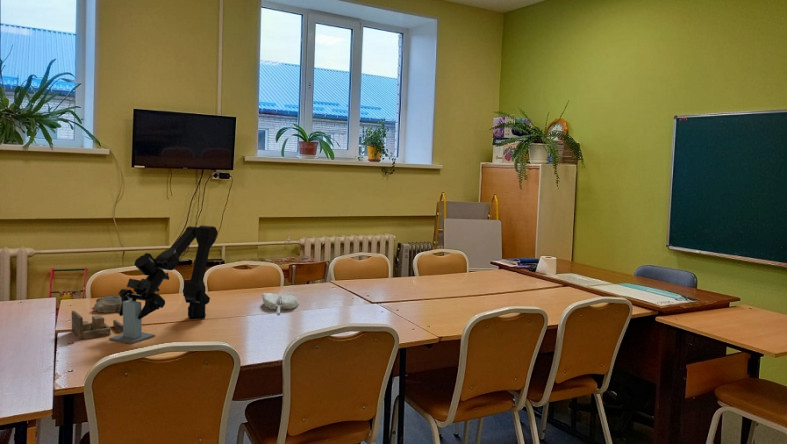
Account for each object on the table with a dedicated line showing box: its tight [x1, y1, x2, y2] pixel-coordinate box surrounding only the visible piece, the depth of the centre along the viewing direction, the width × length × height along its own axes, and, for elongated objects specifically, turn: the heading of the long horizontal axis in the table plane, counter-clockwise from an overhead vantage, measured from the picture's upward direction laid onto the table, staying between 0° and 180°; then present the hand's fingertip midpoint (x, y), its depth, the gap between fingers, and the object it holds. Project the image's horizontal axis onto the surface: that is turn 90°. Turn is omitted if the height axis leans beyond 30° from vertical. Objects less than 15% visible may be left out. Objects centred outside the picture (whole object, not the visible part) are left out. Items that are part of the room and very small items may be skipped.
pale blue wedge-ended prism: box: [122, 300, 143, 338], centre depth 214 cm, size 3×6×13 cm, turn 67°
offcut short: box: [83, 320, 91, 332], centre depth 217 cm, size 3×5×4 cm, turn 42°
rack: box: [71, 310, 123, 340], centre depth 220 cm, size 15×12×8 cm
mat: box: [108, 331, 156, 345], centre depth 215 cm, size 11×11×1 cm
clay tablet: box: [94, 294, 122, 314], centre depth 257 cm, size 14×5×20 cm
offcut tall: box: [91, 314, 105, 330], centre depth 220 cm, size 3×5×6 cm, turn 41°
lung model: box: [261, 292, 300, 315], centre depth 267 cm, size 7×17×25 cm
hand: (129, 317), depth 213 cm, fingers open, 9 cm apart
